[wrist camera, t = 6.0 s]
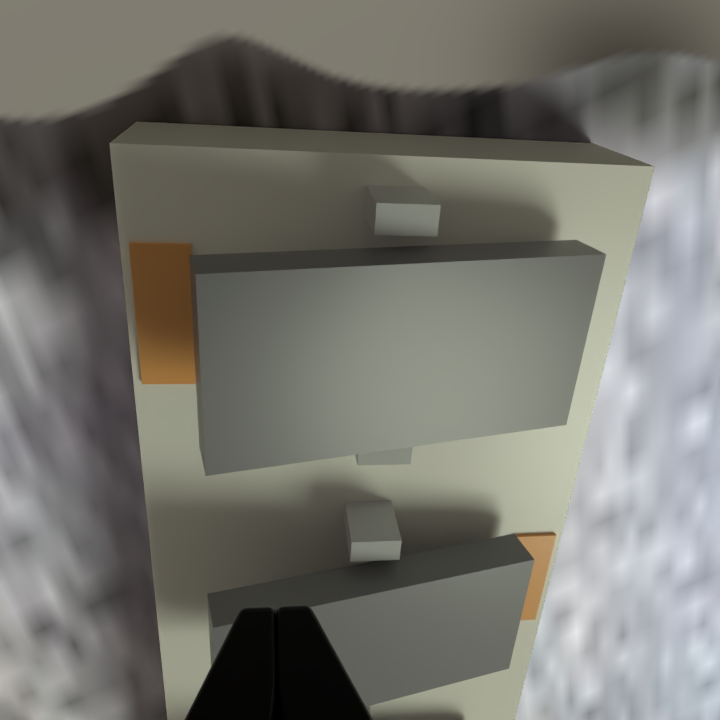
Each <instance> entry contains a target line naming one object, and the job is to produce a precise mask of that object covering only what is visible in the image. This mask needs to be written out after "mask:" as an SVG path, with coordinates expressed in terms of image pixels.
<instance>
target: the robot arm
mask: <svg viewBox="0 0 720 720" xmlns="http://www.w3.org/2000/svg"><path fill="white" fill-rule="evenodd" d="M185 720H373V718H372V716H371V715H370V713H369V711H368V709H367V707H366V706H365V704H364V702H363V700H362V698H361V697H360V695H359V693H358V691H357V689H356V688H355V686H354V684H353V682H352V680H351V678H350V677H349V675H348V673H347V671H346V669H345V668H344V666H343V664H342V662H341V660H340V659H339V657H338V655H337V653H336V651H335V650H334V648H333V646H332V644H331V642H330V641H329V639H328V637H327V635H326V633H325V632H324V630H323V628H322V626H321V624H320V622H319V621H318V619H317V617H316V615H315V613H314V612H313V610H312V609H311V608H310V606H308V605H305V604H301V605H281V606H279V607H278V608H277V610H276V614H275V609H274V608H273V607H272V606H248V607H244V608H242V609H241V610H240V611H239V613H238V615H237V617H236V619H235V621H234V623H233V625H232V627H231V629H230V630H229V632H228V634H227V636H226V638H225V640H224V642H223V644H222V646H221V648H220V650H219V652H218V654H217V656H216V658H215V660H214V662H213V664H212V666H211V668H210V670H209V672H208V674H207V676H206V678H205V680H204V682H203V684H202V686H201V688H200V690H199V692H198V694H197V696H196V698H195V700H194V702H193V704H192V706H191V708H190V710H189V712H188V714H187V716H186V718H185Z"/></svg>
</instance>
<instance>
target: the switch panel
mask: <svg viewBox="0 0 720 720" xmlns="http://www.w3.org/2000/svg"><path fill="white" fill-rule="evenodd" d="M109 145H110V155H111V165H112V175H113V185H114V195H115V205H116V215H117V225H118V235H119V244H120V254H121V264H122V274H123V284H124V294H125V304H126V314H127V324H128V334H129V344H130V354H131V364H132V373H133V383H134V393H135V403H136V413H137V423H138V433H139V443H140V453H141V463H142V473H143V483H144V493H145V502H146V512H147V522H148V532H149V542H150V552H151V562H152V572H153V582H154V592H155V602H156V612H157V621H158V631H159V641H160V651H161V661H162V671H163V681H164V691H165V701H166V711H167V720H185V718H186V716H187V714H188V712H189V710H190V708H191V706H192V704H193V702H194V700H195V698H196V696H197V694H198V692H199V690H200V688H201V686H202V684H203V682H204V680H205V678H206V676H207V674H208V672H209V670H210V668H211V656H210V637H209V619H208V600H207V594H208V593H213V592H218V591H223V590H229V589H234V588H239V587H244V586H249V585H254V584H259V583H264V582H269V581H275V580H280V579H285V578H290V577H295V576H300V575H305V574H310V573H315V572H320V571H326V570H331V569H336V568H341V567H346V566H351V565H356V564H361V563H366V562H372V561H382V560H400V556H402V555H407V554H412V553H417V552H423V551H428V550H433V549H438V548H443V547H448V546H453V545H458V544H463V543H469V542H474V541H479V540H484V539H489V538H494V537H499V536H504V535H509V534H515V535H516V536H517V538H518V539H519V540H520V542H521V543H522V544H523V545H524V547H525V548H526V549H527V551H528V552H529V553H530V554H531V556H532V557H533V558H534V564H533V568H532V573H531V577H530V581H529V585H528V590H527V594H526V598H525V602H524V607H523V611H522V615H521V619H520V624H519V628H518V632H517V636H516V641H515V645H514V649H513V654H512V658H511V662H510V666H509V669H506V670H502V671H498V672H494V673H491V674H487V675H483V676H479V677H476V678H472V679H468V680H464V681H461V682H457V683H453V684H449V685H446V686H442V687H438V688H434V689H431V690H427V691H423V692H420V693H416V694H412V695H408V696H405V697H401V698H397V699H393V700H390V701H386V702H382V703H378V704H375V705H371V706H367V709H368V711H369V713H370V715H371V716H372V718H373V720H515V716H516V712H517V708H518V704H519V700H520V696H521V692H522V688H523V685H524V681H525V677H526V673H527V669H528V665H529V661H530V657H531V653H532V649H533V645H534V641H535V637H536V633H537V629H538V625H539V621H540V617H541V613H542V609H543V606H544V602H545V598H546V594H547V590H548V586H549V582H550V578H551V574H552V570H553V566H554V562H555V558H556V554H557V550H558V546H559V542H560V538H561V534H562V530H563V526H564V523H565V519H566V515H567V511H568V507H569V503H570V499H571V495H572V491H573V487H574V483H575V479H576V475H577V471H578V467H579V463H580V459H581V455H582V451H583V447H584V443H585V440H586V436H587V432H588V428H589V424H590V420H591V416H592V412H593V408H594V404H595V400H596V396H597V392H598V388H599V384H600V380H601V376H602V372H603V368H604V364H605V360H606V357H607V353H608V349H609V345H610V341H611V337H612V333H613V329H614V325H615V321H616V317H617V313H618V309H619V305H620V301H621V297H622V293H623V289H624V285H625V281H626V277H627V274H628V270H629V266H630V262H631V258H632V254H633V250H634V246H635V242H636V238H637V234H638V230H639V226H640V222H641V218H642V214H643V210H644V206H645V202H646V198H647V194H648V191H649V187H650V183H651V179H652V175H653V171H654V166H652V165H649V164H646V163H644V162H641V161H639V160H636V159H633V158H631V157H628V156H625V155H623V154H620V153H617V152H615V151H612V150H609V149H607V148H604V147H601V146H599V145H596V144H594V143H577V142H556V141H535V140H514V139H493V138H472V137H451V136H430V135H409V134H388V133H367V132H346V131H325V130H304V129H283V128H262V127H241V126H220V125H199V124H178V123H157V122H135V123H134V124H133V125H132V126H130V127H129V128H128V129H127V130H125V131H124V132H123V133H121V134H120V135H119V136H118V137H116V138H115V139H114V140H113V141H111V142H110V143H109ZM556 240H578V241H580V242H582V243H584V244H586V245H589V246H591V247H593V248H595V249H597V250H599V251H601V252H603V253H605V254H606V258H605V262H604V266H603V271H602V275H601V279H600V283H599V288H598V292H597V296H596V300H595V305H594V309H593V313H592V317H591V322H590V326H589V330H588V334H587V339H586V343H585V347H584V351H583V356H582V360H581V364H580V368H579V373H578V377H577V381H576V385H575V390H574V394H573V398H572V402H571V407H570V411H569V415H568V420H567V424H566V425H562V426H555V427H548V428H541V429H534V430H527V431H520V432H513V433H506V434H499V435H492V436H485V437H478V438H471V439H464V440H456V441H449V442H442V443H435V444H428V445H421V446H414V447H407V448H400V449H393V450H386V451H379V452H372V453H365V454H358V455H351V456H344V457H337V458H329V459H322V460H315V461H308V462H301V463H294V464H287V465H280V466H273V467H266V468H259V469H252V470H245V471H238V472H231V473H224V474H217V475H210V476H205V471H204V466H203V462H202V457H201V452H200V448H199V431H198V413H197V394H196V375H195V356H194V338H193V319H192V300H191V282H190V263H189V255H206V254H231V253H256V252H281V251H306V250H331V249H356V248H381V247H406V246H431V245H456V244H481V243H506V242H531V241H556Z"/></svg>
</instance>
